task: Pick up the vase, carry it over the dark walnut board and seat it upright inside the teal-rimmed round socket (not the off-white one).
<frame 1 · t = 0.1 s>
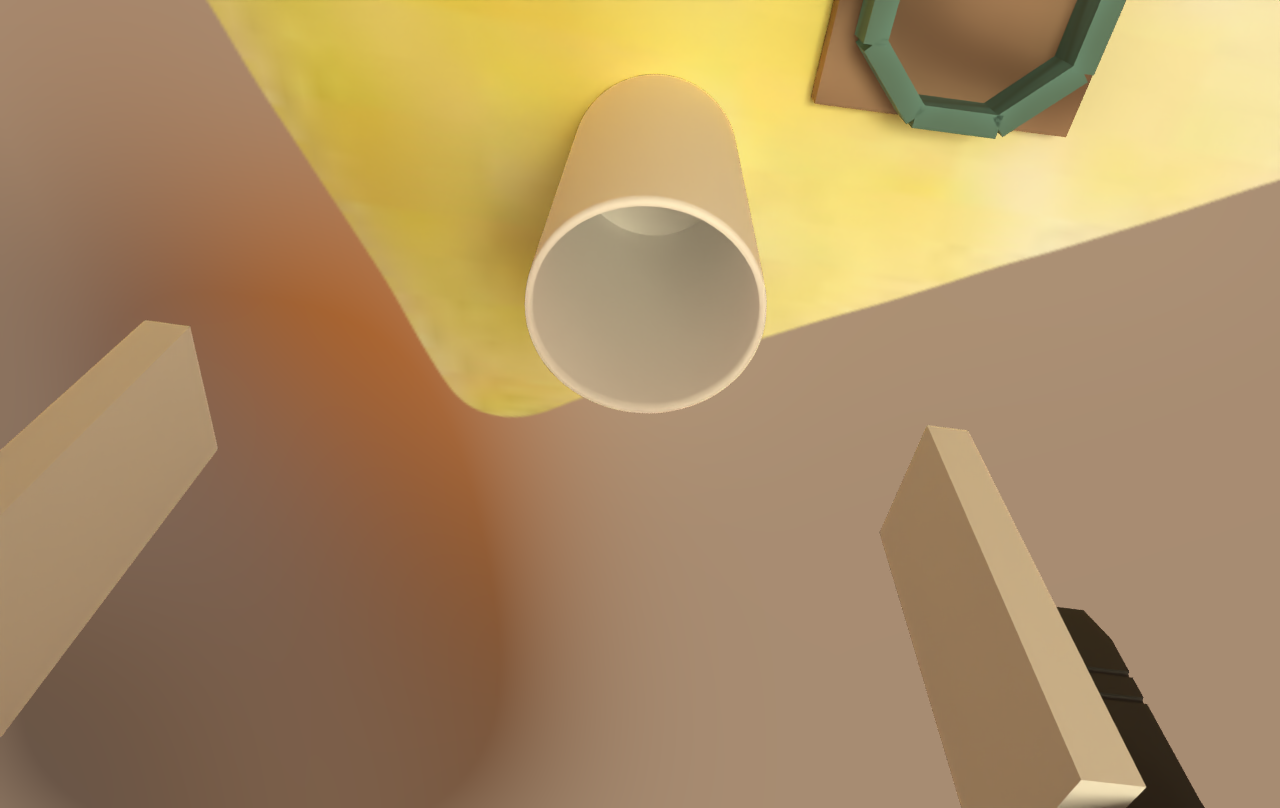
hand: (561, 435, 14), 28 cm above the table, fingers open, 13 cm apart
cup: (654, 159, 40), on the table
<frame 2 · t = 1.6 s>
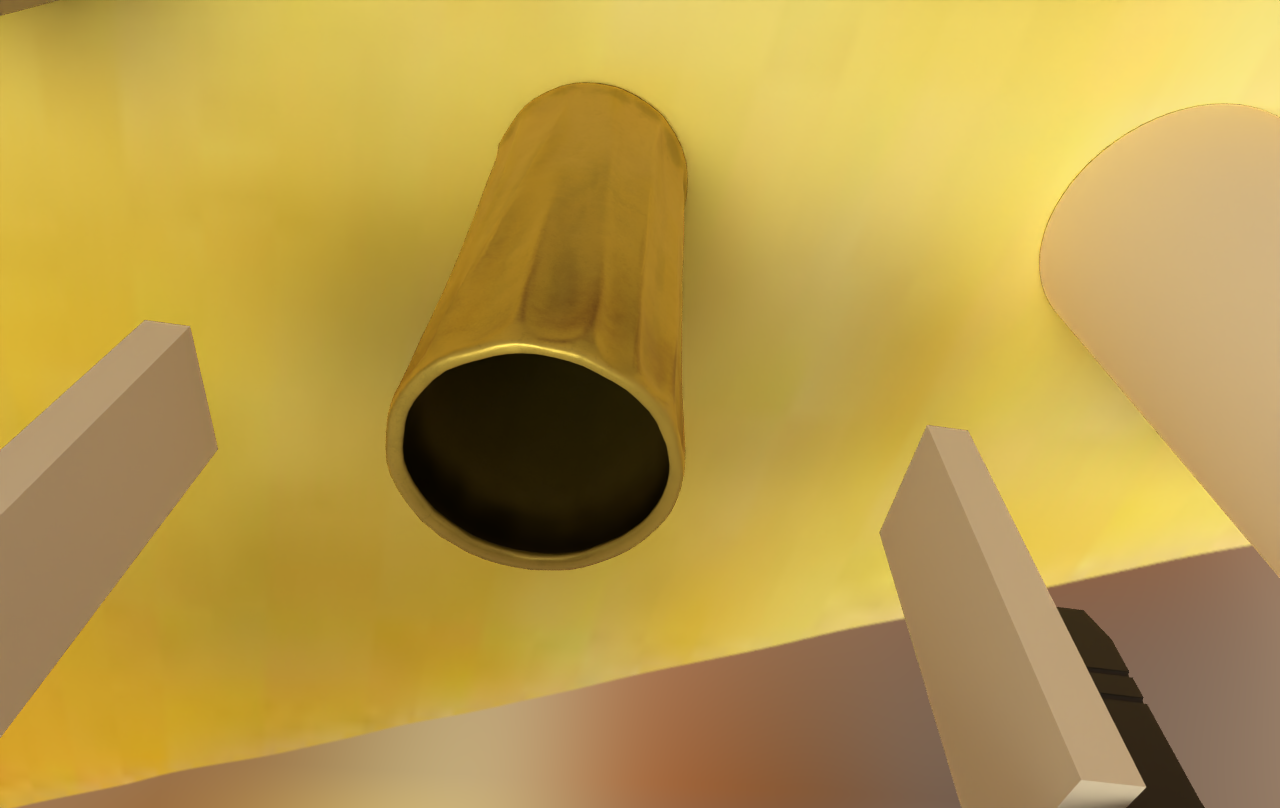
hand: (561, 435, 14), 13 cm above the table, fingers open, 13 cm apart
cup: (1166, 230, 26), on the table
vase: (592, 178, 25), on the table
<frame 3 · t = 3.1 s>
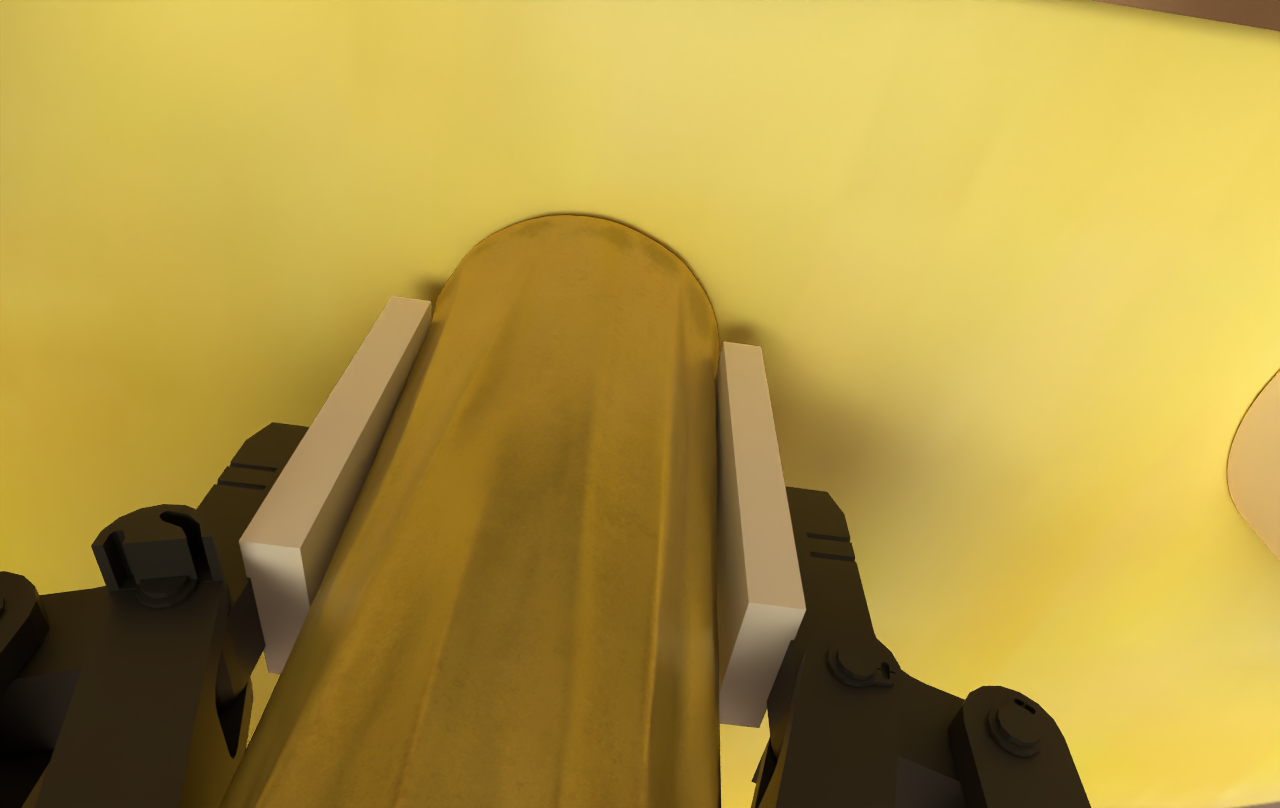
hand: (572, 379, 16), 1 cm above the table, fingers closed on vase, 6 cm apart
vase: (579, 339, 17), on the table, touching gripper
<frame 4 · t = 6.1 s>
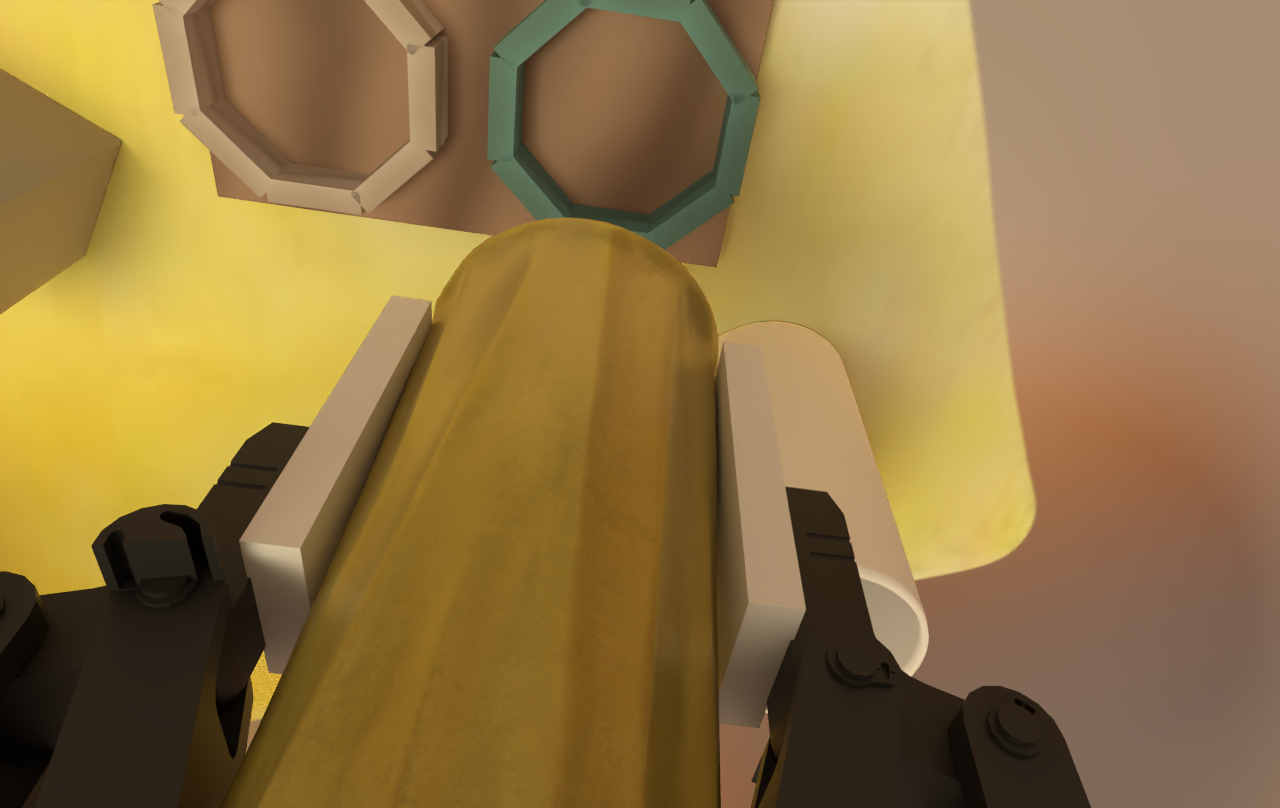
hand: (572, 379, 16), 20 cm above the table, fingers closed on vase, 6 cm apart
perfume bottle: (27, 155, 35), on the table
cup: (765, 388, 41), on the table
vase: (578, 341, 17), point 19 cm above the table, touching gripper
board: (479, 84, 32), on the table
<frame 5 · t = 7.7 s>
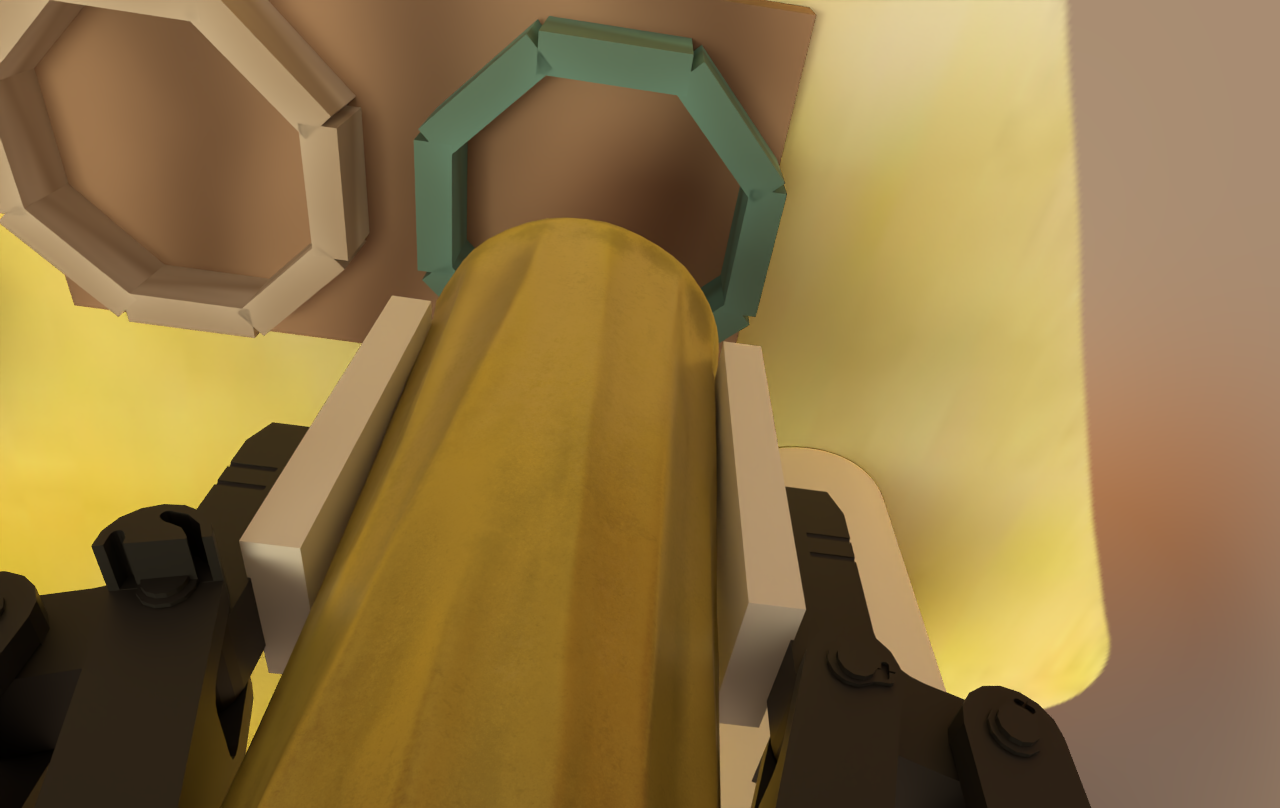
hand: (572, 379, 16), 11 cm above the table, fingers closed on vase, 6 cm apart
cup: (783, 520, 33), on the table
vase: (578, 341, 17), point 9 cm above the table, touching gripper
board: (410, 164, 24), on the table
when the fingers open (4 cm above the table, at t = 9.2 s): vase drops 2 cm, resting on board.
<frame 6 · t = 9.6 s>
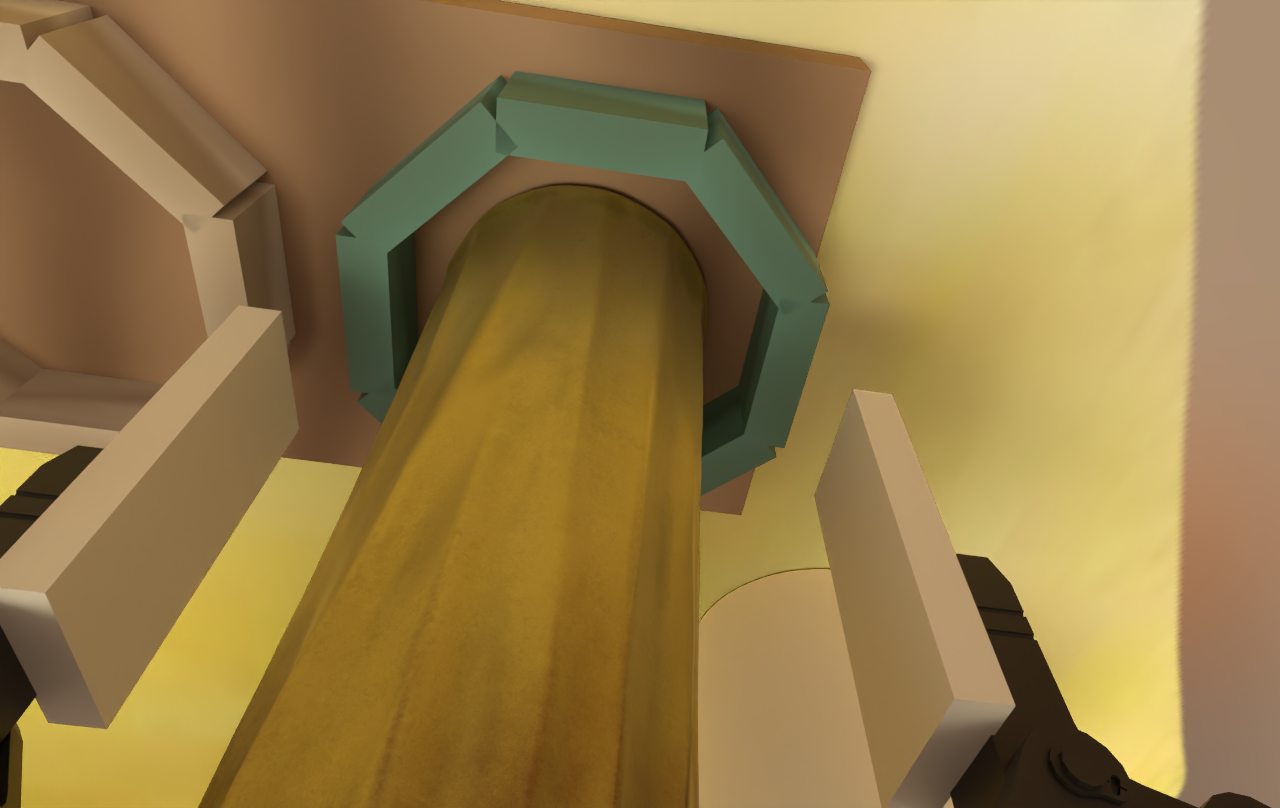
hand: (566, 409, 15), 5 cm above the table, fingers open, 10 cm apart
cup: (808, 644, 28), on the table
vase: (579, 303, 19), point 1 cm above the table, touching board
board: (347, 248, 19), on the table
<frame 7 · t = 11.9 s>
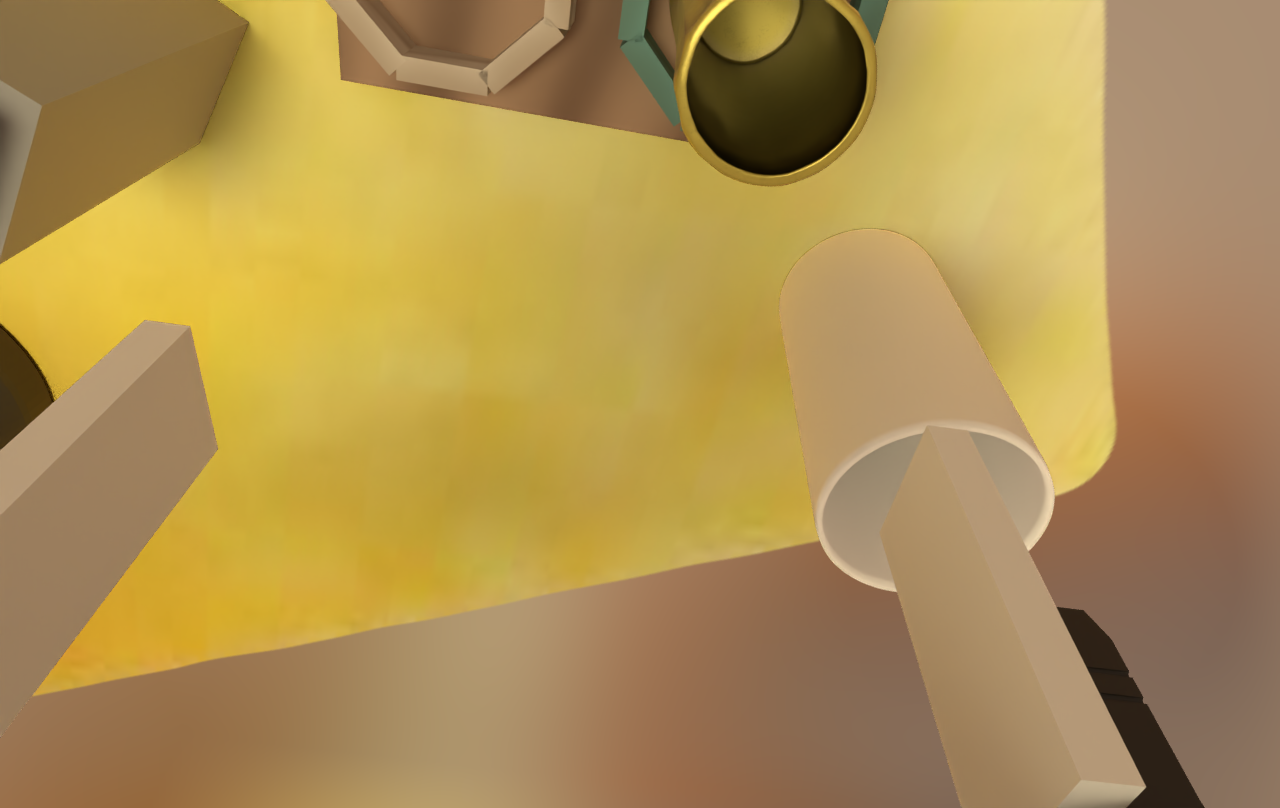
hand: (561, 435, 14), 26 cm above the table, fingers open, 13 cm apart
perfume bottle: (153, 36, 36), on the table
cup: (857, 300, 41), on the table
vase: (744, 1, 32), point 1 cm above the table, touching board
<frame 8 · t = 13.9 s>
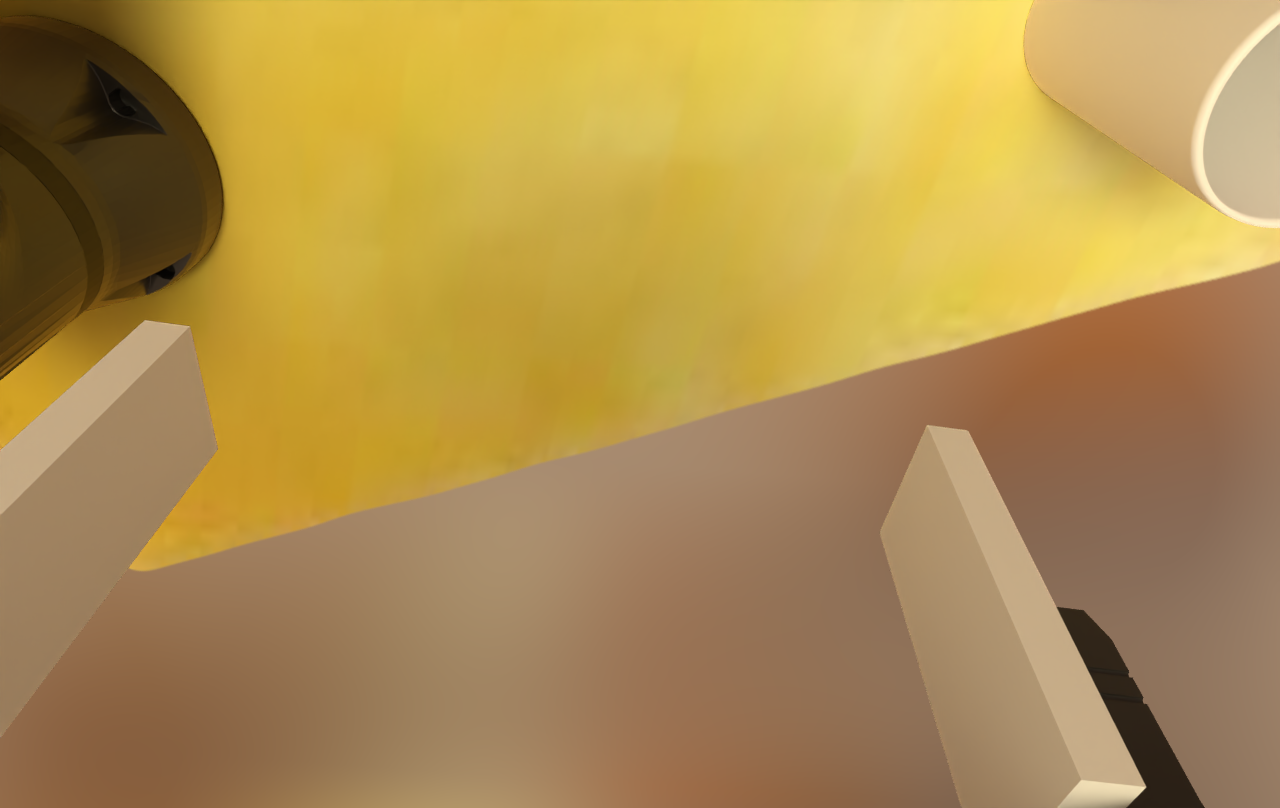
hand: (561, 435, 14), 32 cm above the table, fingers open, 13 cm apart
cup: (1109, 19, 39), on the table
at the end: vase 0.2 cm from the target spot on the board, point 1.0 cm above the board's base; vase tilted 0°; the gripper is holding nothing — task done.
